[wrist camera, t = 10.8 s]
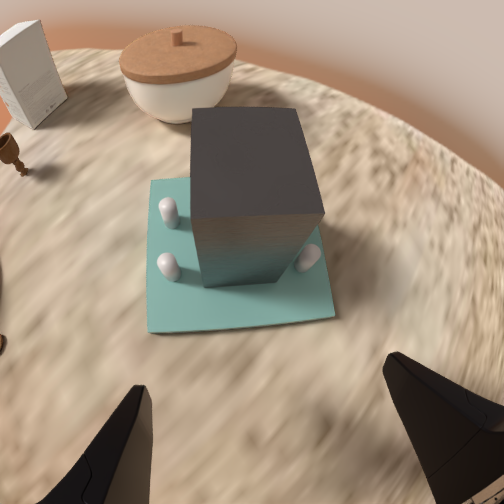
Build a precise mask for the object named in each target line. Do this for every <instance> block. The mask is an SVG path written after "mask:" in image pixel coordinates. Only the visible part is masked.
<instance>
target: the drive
mask: <svg viewBox="0 0 504 504" xmlns="http://www.w3.org/2000/svg"><path fill="white" fill-rule="evenodd" d="M324 214H325V211H324V207H323V203H322V199H321V195H320V191H319V187H318V184H317V180H316V176H315V172H314V169H313V165H312V162H311V158H310V155H309V151H308V148H307V144H306V141H305V138H304V134H303V131H302V128H301V125H300V122H299V118H298V115H297V112H296V109H291V108H272V107H210V108H192V124H191V159H190V220H191V225H192V231H193V236H194V241H195V247H196V252H197V257H198V262H199V267H200V272H201V277H202V282H203V286H204V288H213V287H228V286H242V285H255V284H267V283H276V282H277V281H278V280H279V278H280V277H281V276H282V274H283V273H284V271H285V270H286V269H287V267H288V266H289V264H290V263H291V262H292V260H293V259H294V257H295V256H296V255H297V253H298V252H299V250H300V249H301V247H302V246H303V245H304V243H305V242H306V240H307V239H308V238H309V236H310V235H311V233H312V232H313V230H314V229H315V227H316V226H317V225H318V223H319V222H320V220H321V219H322V217H323V216H324Z"/></svg>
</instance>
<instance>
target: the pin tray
mask: <svg viewBox="0 0 504 504" xmlns="http://www.w3.org/2000/svg"><path fill="white" fill-rule="evenodd" d="M146 291H147V327H148V333H151V334H153V333H181V332H200V331H215V330H228V329H240V328H251V327H261V326H271V325H280V324H289V323H297V322H304V321H312V320H319V319H326V318H331V317H334V316H335V311H334V305H333V299H332V293H331V287H330V282H329V276H328V271H327V266H326V261H325V255H324V250H323V246H322V241H321V236H320V231H319V227H318V225H317V226H316V227H315V229H314V230H313V232H312V233H311V235H310V236H309V238H308V239H307V240H306V242H305V243H304V245H303V246H302V247H301V249H300V250H299V252H298V253H297V255H296V256H295V257H294V259H293V260H292V262H291V263H290V264H289V266H288V267H287V269H286V270H285V271H284V273H283V274H282V276H281V277H280V278H279V280H278V281H277V282H276V283H267V284H255V285H242V286H228V287H213V288H204V286H203V282H202V277H201V272H200V267H199V262H198V257H197V252H196V247H195V241H194V236H193V231H192V225H191V220H190V177H185V178H171V179H159V180H151V186H150V199H149V213H148V232H147V268H146Z"/></svg>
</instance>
